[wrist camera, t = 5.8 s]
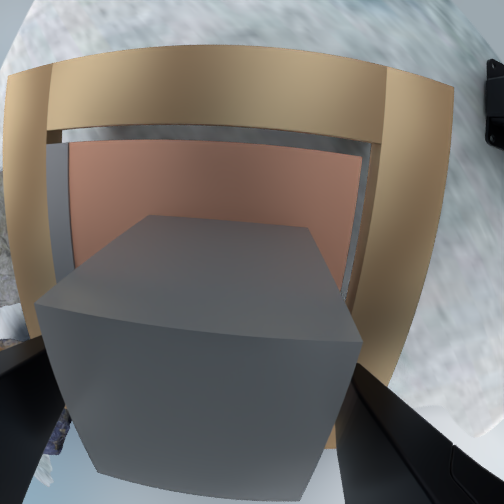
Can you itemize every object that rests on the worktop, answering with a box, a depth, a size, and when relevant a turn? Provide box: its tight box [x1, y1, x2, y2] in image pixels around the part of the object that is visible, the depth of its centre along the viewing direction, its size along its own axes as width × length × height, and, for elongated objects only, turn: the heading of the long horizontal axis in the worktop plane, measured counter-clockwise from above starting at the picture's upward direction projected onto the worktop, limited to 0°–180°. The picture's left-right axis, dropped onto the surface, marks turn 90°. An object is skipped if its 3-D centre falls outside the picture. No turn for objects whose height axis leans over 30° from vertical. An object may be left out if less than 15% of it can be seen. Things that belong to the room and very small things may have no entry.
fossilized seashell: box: [0, 171, 21, 307], centre depth 18 cm, size 10×9×10 cm
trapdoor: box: [46, 140, 362, 292], centre depth 11 cm, size 10×10×1 cm
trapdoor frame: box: [3, 45, 454, 449], centre depth 15 cm, size 16×16×9 cm
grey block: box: [34, 215, 363, 501], centre depth 8 cm, size 5×5×6 cm
